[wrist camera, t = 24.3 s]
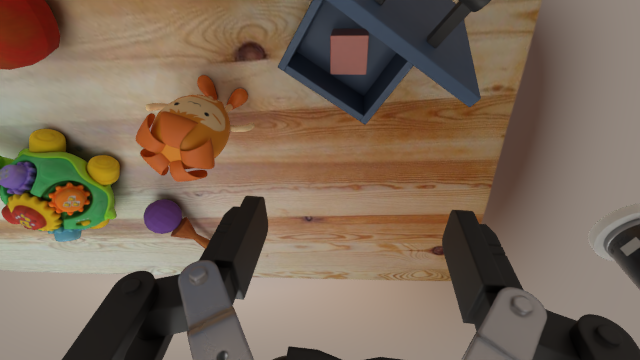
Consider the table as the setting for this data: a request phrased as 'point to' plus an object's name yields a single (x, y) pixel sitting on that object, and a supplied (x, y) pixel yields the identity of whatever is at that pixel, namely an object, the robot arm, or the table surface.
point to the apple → (26, 32)
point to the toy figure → (189, 132)
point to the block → (349, 51)
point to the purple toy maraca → (170, 221)
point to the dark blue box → (341, 89)
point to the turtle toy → (57, 188)
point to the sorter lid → (424, 37)
